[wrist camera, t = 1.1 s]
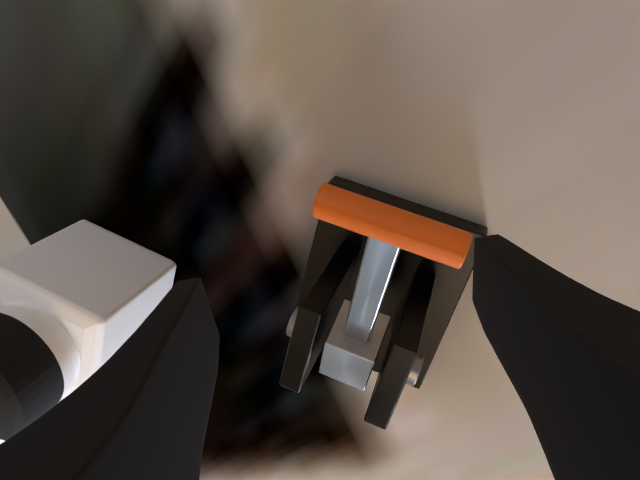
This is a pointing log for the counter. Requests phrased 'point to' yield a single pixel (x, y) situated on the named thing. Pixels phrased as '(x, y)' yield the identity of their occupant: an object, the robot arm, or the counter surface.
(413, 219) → the switch lever
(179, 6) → the counter surface
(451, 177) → the counter surface
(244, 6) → the counter surface
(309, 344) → the switch bracket
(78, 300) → the medicine bottle
